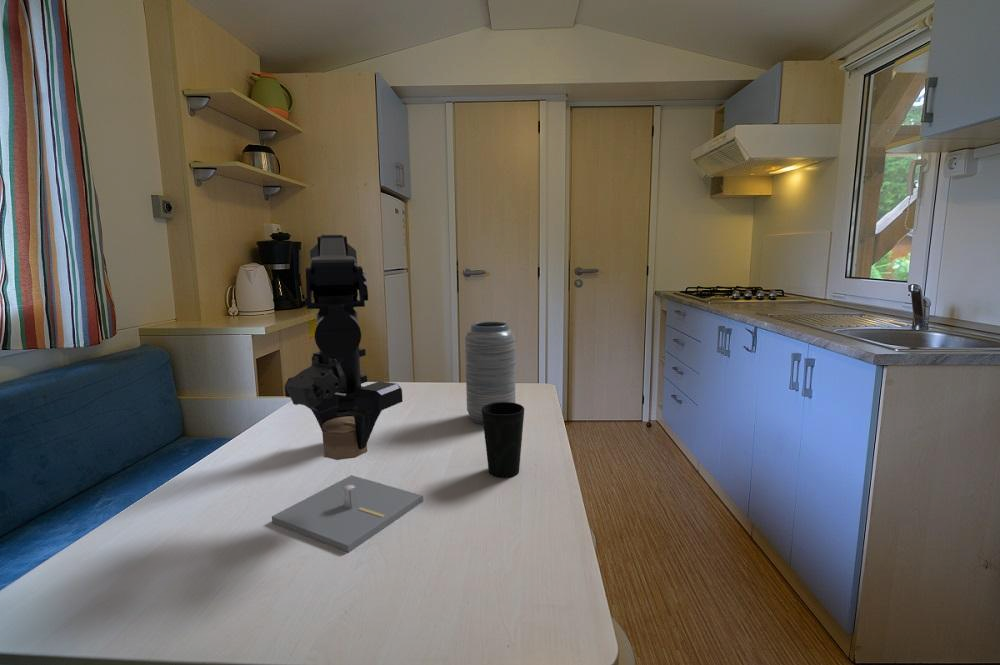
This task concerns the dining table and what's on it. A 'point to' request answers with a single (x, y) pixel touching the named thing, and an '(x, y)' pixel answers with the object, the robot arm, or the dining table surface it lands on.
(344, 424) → the knob
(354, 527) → the base plate
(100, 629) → the dining table surface
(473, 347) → the vase
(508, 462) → the cup
